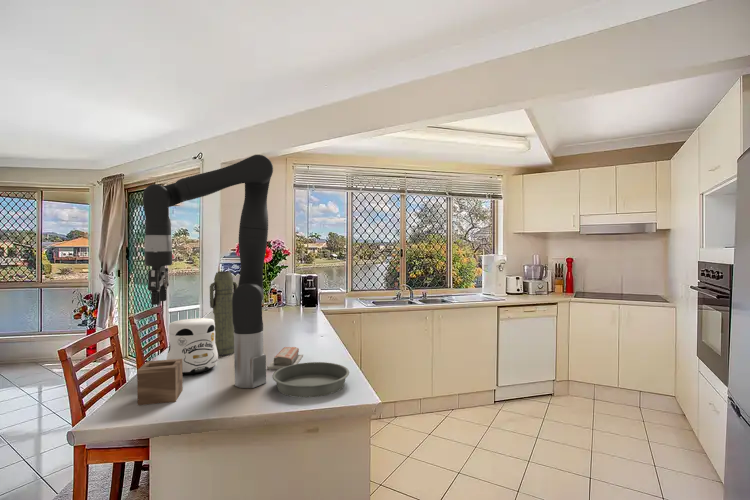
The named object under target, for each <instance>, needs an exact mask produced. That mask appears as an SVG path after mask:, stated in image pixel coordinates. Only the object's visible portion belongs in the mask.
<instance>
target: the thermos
mask: <svg viewBox="0 0 750 500" xmlns="http://www.w3.org/2000/svg"><path fill="white" fill-rule="evenodd" d="M233 277H234V276H233V274H232V272H231V271H228V270H223V271H217V272H216V273H215V275H214V277H213V278H214V279H213V282H212V283H211V284H210V285H209V307H210V309H212V314H213V317H214V318H213V320H214V322H215V344H216V348H217V351H218V357H223V356H224V357H225V356H232V355H233V354H234V326H233V315H232V296H233V293H234V291H235V289H236V288H237V287H238V284H237V283H236V282H235V281H234V278H233Z"/></svg>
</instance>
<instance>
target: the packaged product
mask: <svg viewBox="0 0 750 500" xmlns="http://www.w3.org/2000/svg"><path fill="white" fill-rule="evenodd" d="M299 350H300V348H299V347H296V346H285V347H283V348H282V349H281V350H280V351H279V352H278V353H277V354H276V355H275V356H274V358H273V360H272V361H271V362H270V363H269V364H268V365H266V368H267V370H279V369H281V368H283V367H286V366H290V365H294V364H299V363H301V360H302V359H303V357H304V354H299V353H300V352H299Z"/></svg>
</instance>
